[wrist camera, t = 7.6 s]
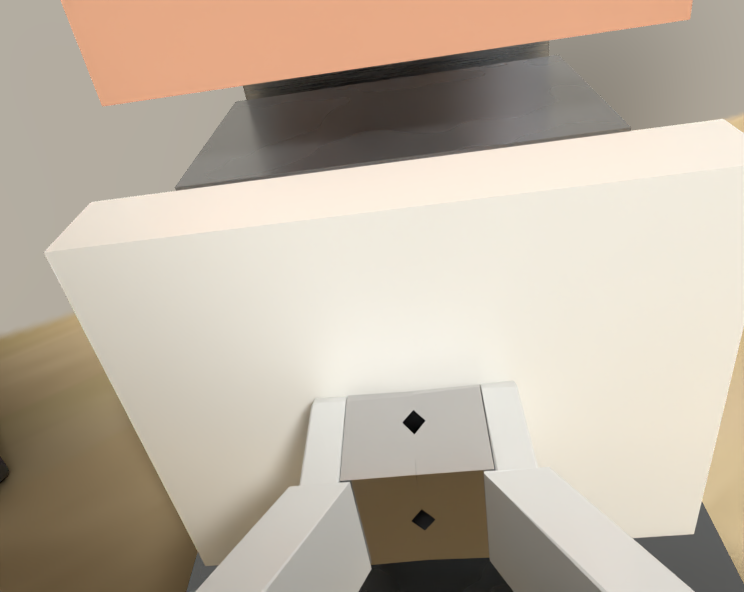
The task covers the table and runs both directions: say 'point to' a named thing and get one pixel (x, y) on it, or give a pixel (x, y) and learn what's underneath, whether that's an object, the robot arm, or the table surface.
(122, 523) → the table surface
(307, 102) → the press rig
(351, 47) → the orange plunger
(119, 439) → the table surface
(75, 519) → the table surface
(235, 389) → the cream stepped block
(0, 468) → the dark rectangular slab
